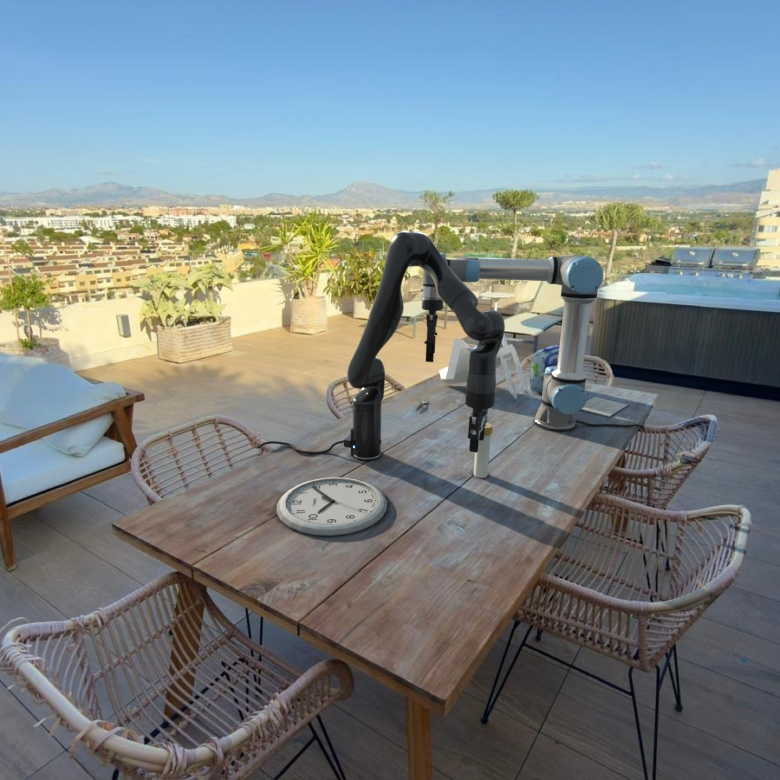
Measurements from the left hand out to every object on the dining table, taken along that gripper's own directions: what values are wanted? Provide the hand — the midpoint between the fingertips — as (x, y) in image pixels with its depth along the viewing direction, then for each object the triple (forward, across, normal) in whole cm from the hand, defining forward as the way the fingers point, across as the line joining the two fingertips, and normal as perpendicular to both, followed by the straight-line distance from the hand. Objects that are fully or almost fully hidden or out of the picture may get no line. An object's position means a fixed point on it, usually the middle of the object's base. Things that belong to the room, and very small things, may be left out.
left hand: (476, 445), depth 141 cm
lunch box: (+17, -119, +13) cm, 121 cm away
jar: (+17, -18, -1) cm, 25 cm away
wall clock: (+17, +16, -36) cm, 43 cm away
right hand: (-11, -48, -27) cm, 56 cm away
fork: (+17, -73, -37) cm, 84 cm away
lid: (+1, -18, -1) cm, 18 cm away
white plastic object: (+17, -102, -18) cm, 105 cm away
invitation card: (+17, -102, +35) cm, 110 cm away
